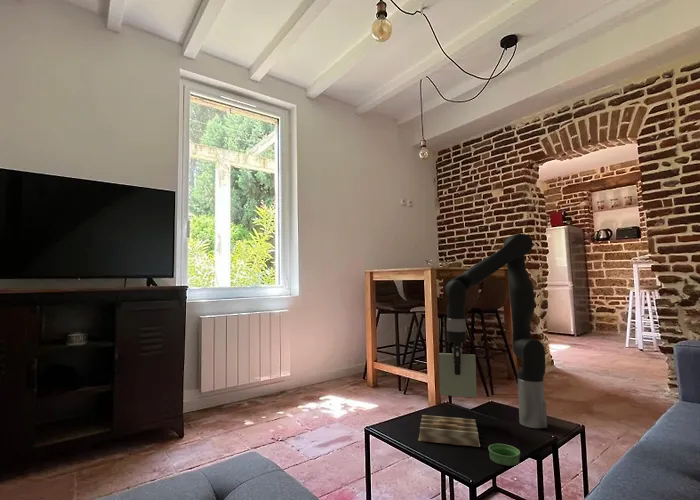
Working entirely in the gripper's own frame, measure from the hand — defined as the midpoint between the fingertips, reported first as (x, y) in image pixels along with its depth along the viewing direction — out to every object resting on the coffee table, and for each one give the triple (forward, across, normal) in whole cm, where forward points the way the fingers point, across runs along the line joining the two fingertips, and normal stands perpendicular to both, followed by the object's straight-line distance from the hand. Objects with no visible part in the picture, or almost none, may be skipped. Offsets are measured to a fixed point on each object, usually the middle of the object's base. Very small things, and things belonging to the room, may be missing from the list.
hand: (457, 373), depth 149 cm
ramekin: (+19, -33, -12) cm, 40 cm away
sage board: (+8, 0, 0) cm, 8 cm away
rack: (+19, -18, +4) cm, 26 cm away
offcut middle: (+18, -18, +3) cm, 25 cm away
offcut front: (+17, -22, +5) cm, 29 cm away
